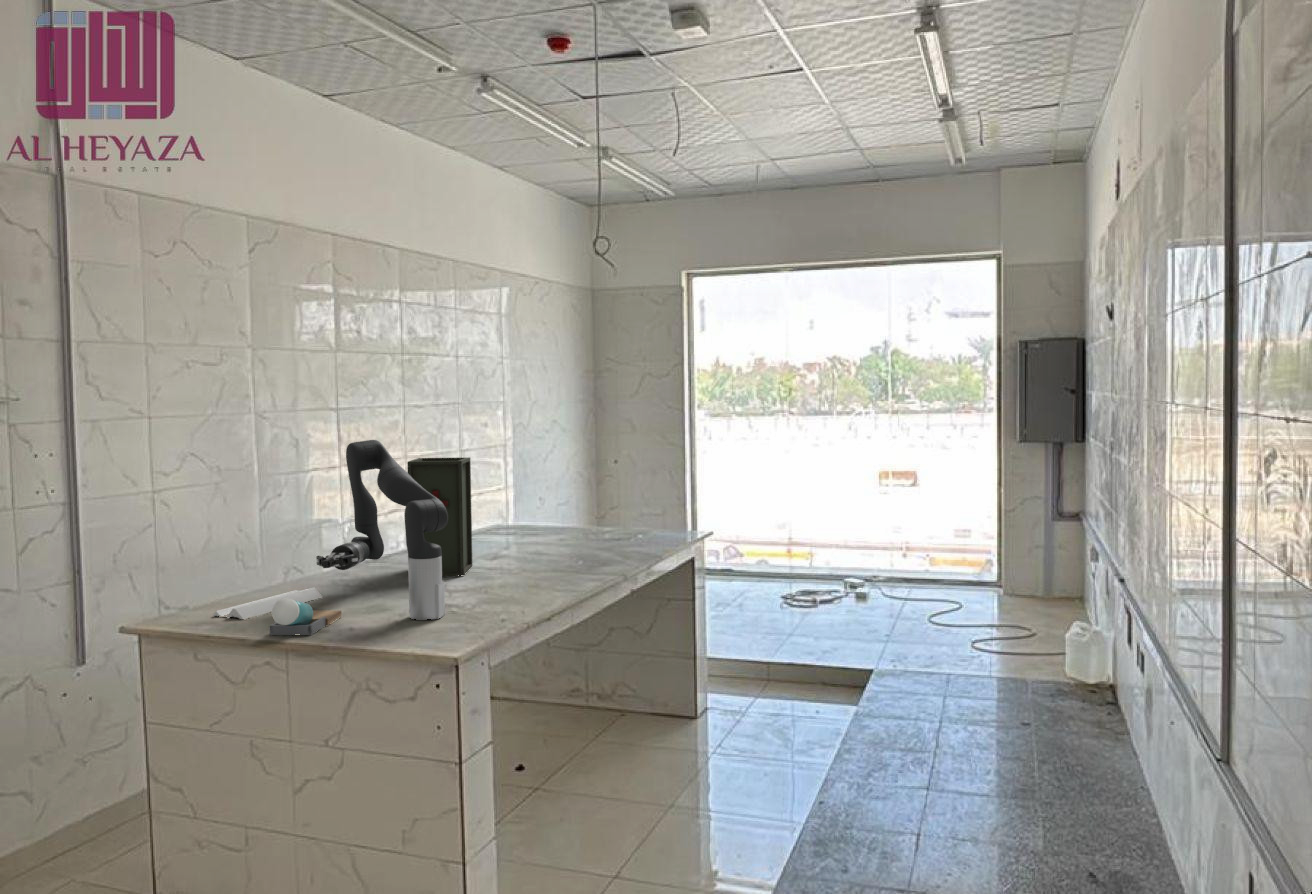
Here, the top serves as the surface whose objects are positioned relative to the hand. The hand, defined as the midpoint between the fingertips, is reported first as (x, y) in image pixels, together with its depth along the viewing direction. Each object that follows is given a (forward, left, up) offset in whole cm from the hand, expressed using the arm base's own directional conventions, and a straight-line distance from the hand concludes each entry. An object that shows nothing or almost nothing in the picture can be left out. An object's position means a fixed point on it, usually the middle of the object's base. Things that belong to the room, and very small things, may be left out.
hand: (325, 564), depth 271 cm
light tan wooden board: (0, +9, -14) cm, 17 cm away
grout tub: (+1, +15, -11) cm, 19 cm away
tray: (0, +19, -14) cm, 24 cm away
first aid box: (-16, -65, -15) cm, 69 cm away
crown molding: (+21, -10, -15) cm, 28 cm away
